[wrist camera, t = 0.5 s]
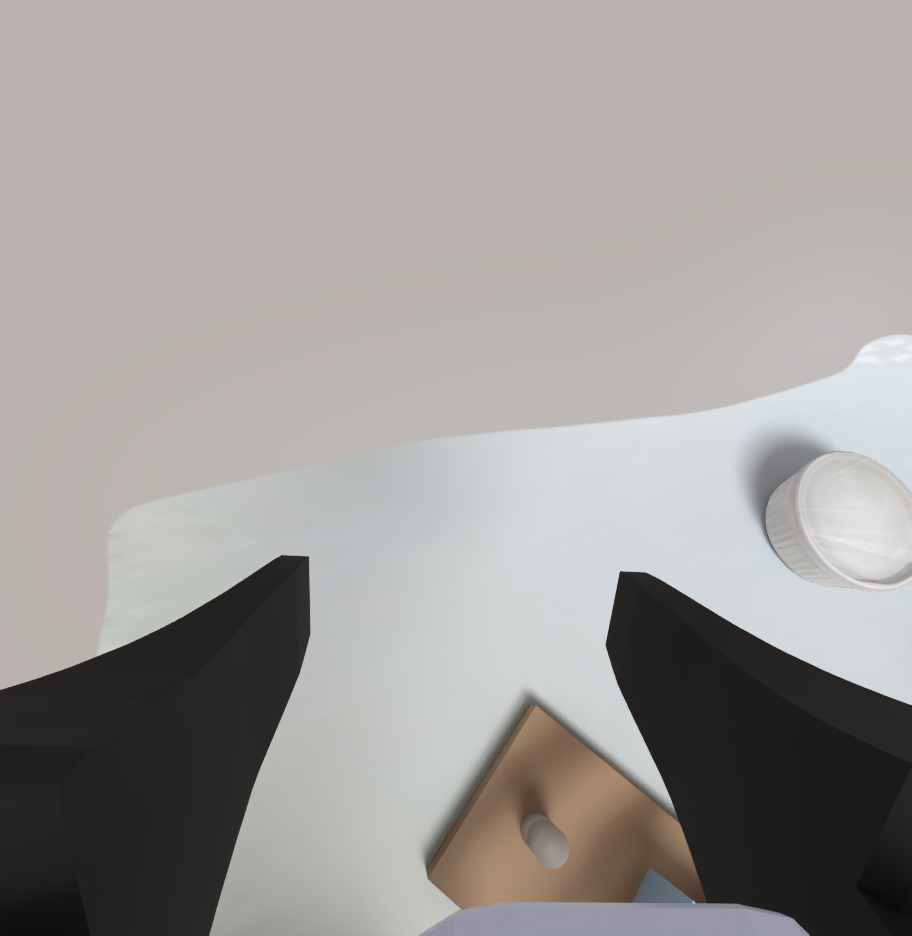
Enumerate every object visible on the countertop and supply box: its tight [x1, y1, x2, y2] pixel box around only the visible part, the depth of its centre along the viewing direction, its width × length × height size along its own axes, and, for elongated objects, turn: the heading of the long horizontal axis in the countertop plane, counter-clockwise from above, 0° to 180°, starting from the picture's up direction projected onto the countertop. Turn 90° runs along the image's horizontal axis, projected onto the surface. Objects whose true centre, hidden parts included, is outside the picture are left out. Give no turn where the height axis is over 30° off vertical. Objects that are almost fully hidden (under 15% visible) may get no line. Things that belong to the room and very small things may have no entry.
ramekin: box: [765, 451, 912, 592], centre depth 42 cm, size 11×11×5 cm
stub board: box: [426, 704, 707, 910], centre depth 31 cm, size 18×12×5 cm, turn 53°
